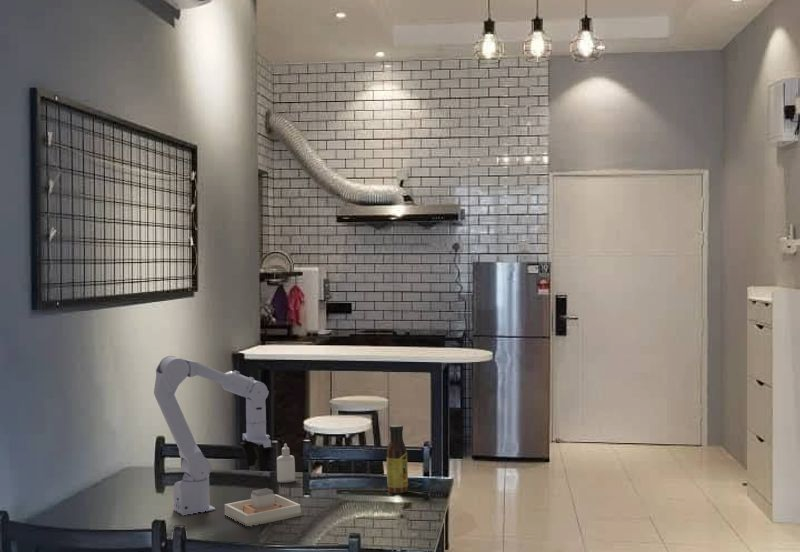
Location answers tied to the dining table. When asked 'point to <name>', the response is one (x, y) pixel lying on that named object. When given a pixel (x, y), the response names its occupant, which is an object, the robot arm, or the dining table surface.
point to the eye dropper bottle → (285, 466)
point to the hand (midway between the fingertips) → (257, 468)
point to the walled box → (262, 511)
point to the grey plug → (262, 498)
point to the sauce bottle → (397, 461)
